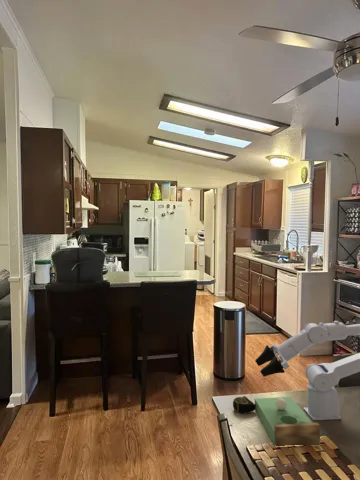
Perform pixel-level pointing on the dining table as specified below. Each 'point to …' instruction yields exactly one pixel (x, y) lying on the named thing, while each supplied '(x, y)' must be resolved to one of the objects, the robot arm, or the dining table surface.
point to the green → (279, 415)
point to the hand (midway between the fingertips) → (259, 368)
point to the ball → (281, 404)
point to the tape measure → (243, 405)
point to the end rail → (297, 433)
